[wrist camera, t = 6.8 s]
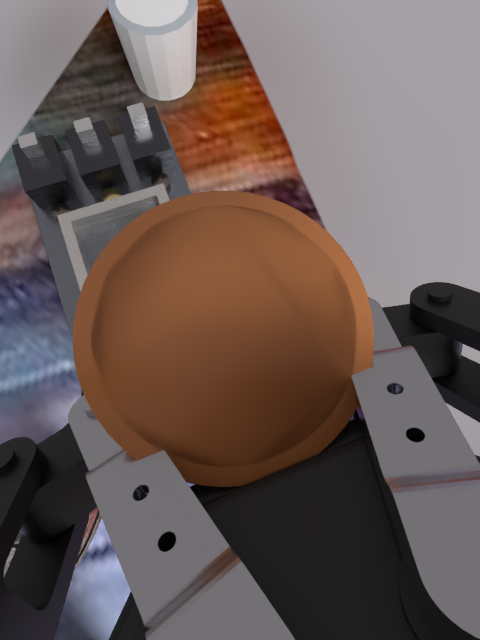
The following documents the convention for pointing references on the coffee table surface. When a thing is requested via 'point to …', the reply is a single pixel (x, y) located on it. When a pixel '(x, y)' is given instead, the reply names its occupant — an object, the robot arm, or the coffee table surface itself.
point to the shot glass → (158, 43)
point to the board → (95, 189)
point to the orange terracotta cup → (222, 336)
